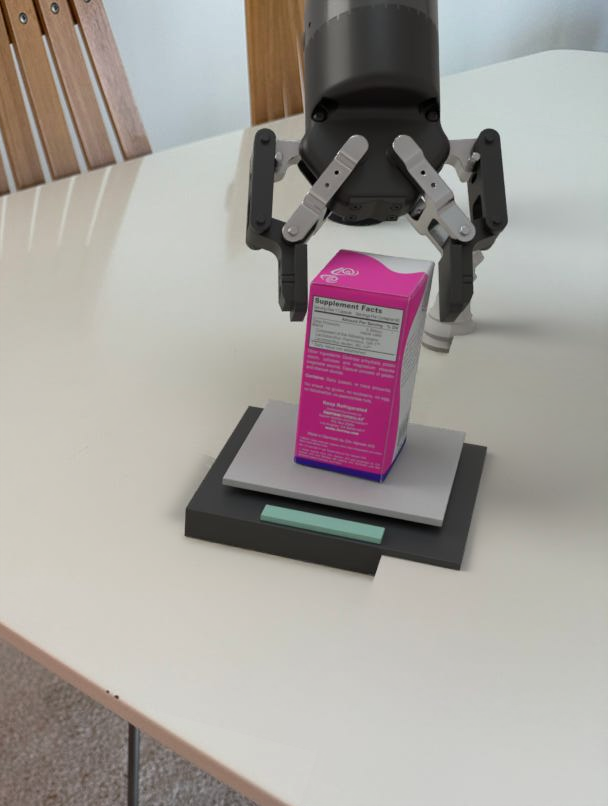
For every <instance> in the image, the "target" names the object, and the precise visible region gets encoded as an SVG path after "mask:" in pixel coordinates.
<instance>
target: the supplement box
mask: <svg viewBox="0 0 608 806" xmlns="http://www.w3.org/2000/svg"><path fill="white" fill-rule="evenodd" d="M435 266H436V262H435V261H434V260H428V259H420V258H412V257H403V256H393V255H386V254H379V253H372V252H367V251H358V250H353V249H344V248H341V249H339V250H338V251H337V252H336V253H335V255H334V256H332V258H331V259H330V260H329V261H328V262H327V263H326V265H325V266H324V267H323V268H322V269H321V270H320V272H319V273H317V275H316V276H315V277H314V278H313V279H312V281H310V283H309V291H308V308H307V313H306V327H305V337H304V347H303V358H302V368H301V379H300V392H299V399H298V400H299V401H298V404H299V410H298V421H297V432H296V443H295V454H294V462H295V463H298V464H303V465H307V466H311V467H315V468H320V469H324V470H329V471H333V472H338V473H342V474H346V475H350V476H354V477H358V478H362V479H367V480H370V481H374V482H378V483H382V482H383V481H384V480H385V478H386V476H387V475H388V473H389V471H390V470H391V468H392V466H393V464H394V462H395V461H396V459H397V457H398V455H399V454H400V452H401V450H402V448H403V446H404V444H405V442H406V437H407V429H408V423H410V416H411V410H412V405H413V397H414V391H415V385H416V380H417V379H416V378H417V373H418V368H419V367H418V366H419V360H420V355H421V350H422V338H423V332H424V326H425V320H426V315H427V314H428V307H429V302H430V300H429V299H430V296H431V290H432V283H433V278H434V271H435V268H436V267H435Z"/></svg>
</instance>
